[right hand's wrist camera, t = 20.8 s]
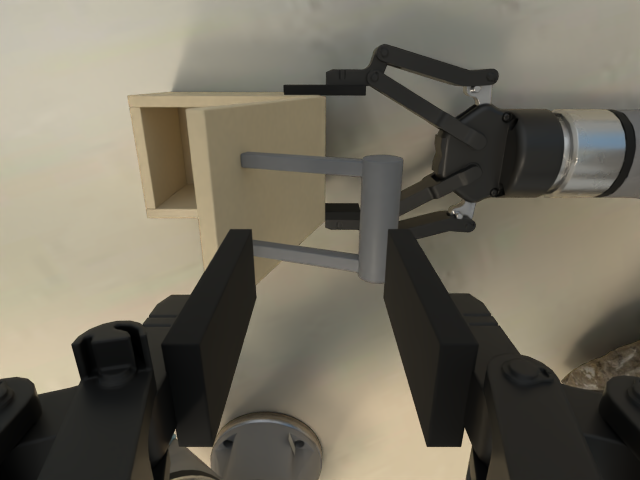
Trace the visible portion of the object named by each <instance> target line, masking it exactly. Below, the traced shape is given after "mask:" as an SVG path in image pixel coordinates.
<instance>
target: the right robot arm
mask: <svg viewBox="0 0 640 480" xmlns="http://www.w3.org/2000/svg"><path fill="white" fill-rule="evenodd" d="M255 301H256V284H255V269H254V254H253V239H252V229H230V230H229V232H228V233H227V235H226V237H225V238H224V240H223V242H222V243H221V245H220V247H219V248H218V250H217V252H216V253H215V255H214V257H213V258H212V260H211V262H210V263H209V265H208V267H207V268H206V270H205V272H204V273H203V275H202V277H201V278H200V280H199V282H198V283H197V285H196V287H195V288H194V290H193V292H192V293H191V295H170V296H169V297H167V298H166V299H164V300H163V301H161V302H160V303H158V304H157V305H156V307H155V308H154V309H153V311H152V312H151V314H150V315H149V318H147V319H146V321H145V322H144V323H143V325H142V324H140V323H138V322H133V321H114V322H110V323H105V324H102V325H99V326H97V327H94V328H92V329H89V330H88V331H86V332H85V333H83V334H82V335H80V336H78V338H77V339H76V340H75V341H74V342H73V343H72V344H71V345H72V349H73V352H74V356H75V360H76V363H77V367H78V371H79V374H80V378H81V381H80V383H79V385H78V386H74V387H71V388H67V389H62V390H57V391H53V392H48V393H43V394H39V395H37V392H36V389H35V386H34V383H32V382H31V381H30V380H29V379H26V378H20V377H13V378H4V379H0V480H169V476H170V467H171V461H170V454H169V449H168V446H169V443H170V441H171V439H172V436H173V434H174V431H175V429H176V433H177V439H178V445H179V447H213V445H214V442H215V438H216V435H217V432H218V428H219V425H220V421H221V418H222V414H223V411H224V407H225V404H226V401H227V397H228V394H229V390H230V387H231V383H232V380H233V376H234V373H235V370H236V366H237V363H238V359H239V356H240V352H241V349H242V346H243V342H244V339H245V335H246V332H247V328H248V325H249V321H250V318H251V315H252V311H253V308H254V304H255ZM384 301H385V304H386V308H387V311H388V315H389V318H390V321H391V325H392V328H393V332H394V335H395V339H396V342H397V346H398V349H399V352H400V356H401V359H402V363H403V366H404V370H405V373H406V376H407V380H408V383H409V387H410V390H411V394H412V397H413V401H414V404H415V407H416V411H417V414H418V418H419V421H420V425H421V428H422V432H423V435H424V438H425V442H426V445H427V447H461V445H462V439H463V433H464V428H465V429H466V432H467V434H468V436H469V439H470V441H471V444H472V449H471V454H470V459H469V465H468V470H467V475H466V480H640V377H635V376H626V375H622V376H616V377H612V378H611V379H610V380H609V381H607V383H606V386H605V389H604V392H603V393H600V392H596V391H591V390H586V389H582V388H577V387H572V386H568V385H565V384H561V383H560V380H559V379H558V377H557V376H556V374H555V373H554V372H553V370H551V369H550V368H549V367H547V366H546V365H545V364H543V363H542V362H540V361H537V360H535V359H533V358H531V357H528V356H524V355H521V354H520V353H519V352H518V350H517V349H516V348H515V346H514V345H513V344H512V342H511V341H510V339H509V338H508V337H507V335H506V334H505V333H504V331H503V330H502V328H501V327H500V326H498V323H497V322H496V320H495V319H494V317H493V316H491V313H490V312H489V311H488V309H487V308H486V306H485V305H484V304H483V303H482V302H481V301H479V300H478V299H476V298H475V297H473V296H472V295H470V294H449V293H448V292H447V290H446V288H445V287H444V285H443V283H442V282H441V280H440V278H439V277H438V275H437V273H436V272H435V270H434V268H433V267H432V265H431V263H430V262H429V260H428V258H427V257H426V255H425V253H424V252H423V250H422V248H421V247H420V245H419V243H418V242H417V240H416V238H415V237H414V235H413V233H412V232H411V230H410V229H388V239H387V254H386V269H385V284H384Z"/></svg>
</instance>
